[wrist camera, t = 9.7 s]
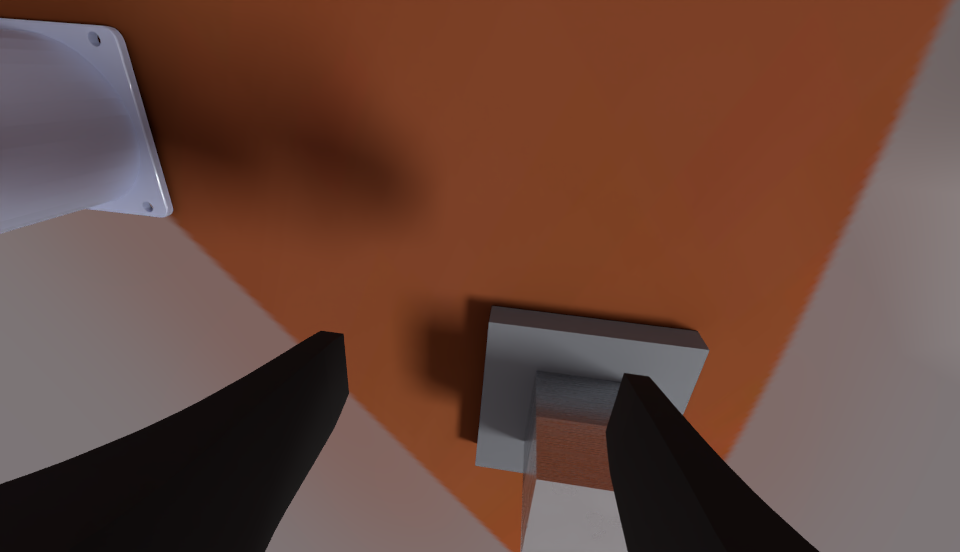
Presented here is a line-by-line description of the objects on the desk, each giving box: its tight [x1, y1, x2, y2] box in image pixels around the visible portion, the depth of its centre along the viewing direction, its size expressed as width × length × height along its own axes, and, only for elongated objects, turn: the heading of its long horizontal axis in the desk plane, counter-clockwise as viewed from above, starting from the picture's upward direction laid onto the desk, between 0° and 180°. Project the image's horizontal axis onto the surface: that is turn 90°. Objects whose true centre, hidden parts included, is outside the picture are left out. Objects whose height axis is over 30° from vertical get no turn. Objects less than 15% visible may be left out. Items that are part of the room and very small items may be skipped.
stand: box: [475, 306, 709, 473], centre depth 21 cm, size 10×10×2 cm
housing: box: [521, 370, 628, 552], centre depth 18 cm, size 5×5×6 cm
